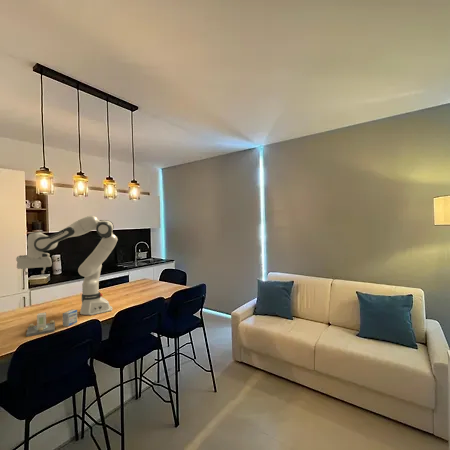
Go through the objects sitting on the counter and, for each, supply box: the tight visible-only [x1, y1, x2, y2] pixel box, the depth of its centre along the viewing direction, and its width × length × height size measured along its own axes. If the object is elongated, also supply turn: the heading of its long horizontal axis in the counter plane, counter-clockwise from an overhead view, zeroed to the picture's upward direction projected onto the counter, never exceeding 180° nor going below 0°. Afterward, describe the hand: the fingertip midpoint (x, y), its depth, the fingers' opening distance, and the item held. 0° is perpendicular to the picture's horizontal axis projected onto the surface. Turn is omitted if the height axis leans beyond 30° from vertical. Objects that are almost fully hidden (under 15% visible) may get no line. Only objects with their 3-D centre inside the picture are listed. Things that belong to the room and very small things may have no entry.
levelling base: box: [25, 319, 56, 338], centre depth 161 cm, size 14×14×3 cm
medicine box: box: [62, 309, 78, 328], centre depth 171 cm, size 8×4×9 cm, turn 170°
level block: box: [36, 312, 47, 329], centre depth 161 cm, size 4×5×8 cm
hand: (34, 274), depth 184 cm, fingers open, 8 cm apart
